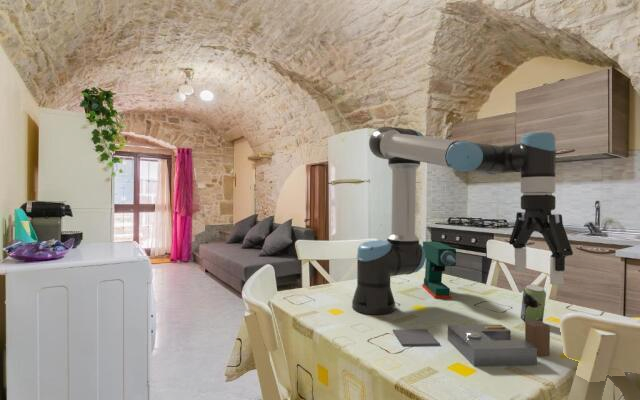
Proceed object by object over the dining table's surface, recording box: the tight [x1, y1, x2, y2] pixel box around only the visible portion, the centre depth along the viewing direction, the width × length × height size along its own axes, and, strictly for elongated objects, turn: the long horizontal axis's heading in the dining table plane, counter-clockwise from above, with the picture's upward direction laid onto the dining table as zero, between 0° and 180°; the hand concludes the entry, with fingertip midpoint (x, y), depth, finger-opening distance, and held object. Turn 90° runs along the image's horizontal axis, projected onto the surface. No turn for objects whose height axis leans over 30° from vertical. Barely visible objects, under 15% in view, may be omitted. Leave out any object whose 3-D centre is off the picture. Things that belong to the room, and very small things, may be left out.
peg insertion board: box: [447, 324, 538, 367], centre depth 89 cm, size 15×15×5 cm
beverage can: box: [520, 283, 547, 323], centre depth 110 cm, size 6×7×12 cm
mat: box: [392, 328, 441, 347], centre depth 98 cm, size 10×10×1 cm
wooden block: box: [524, 321, 551, 357], centre depth 89 cm, size 4×4×8 cm
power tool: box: [421, 241, 457, 300], centre depth 140 cm, size 32×7×20 cm, turn 179°
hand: (537, 277), depth 90 cm, fingers open, 13 cm apart
